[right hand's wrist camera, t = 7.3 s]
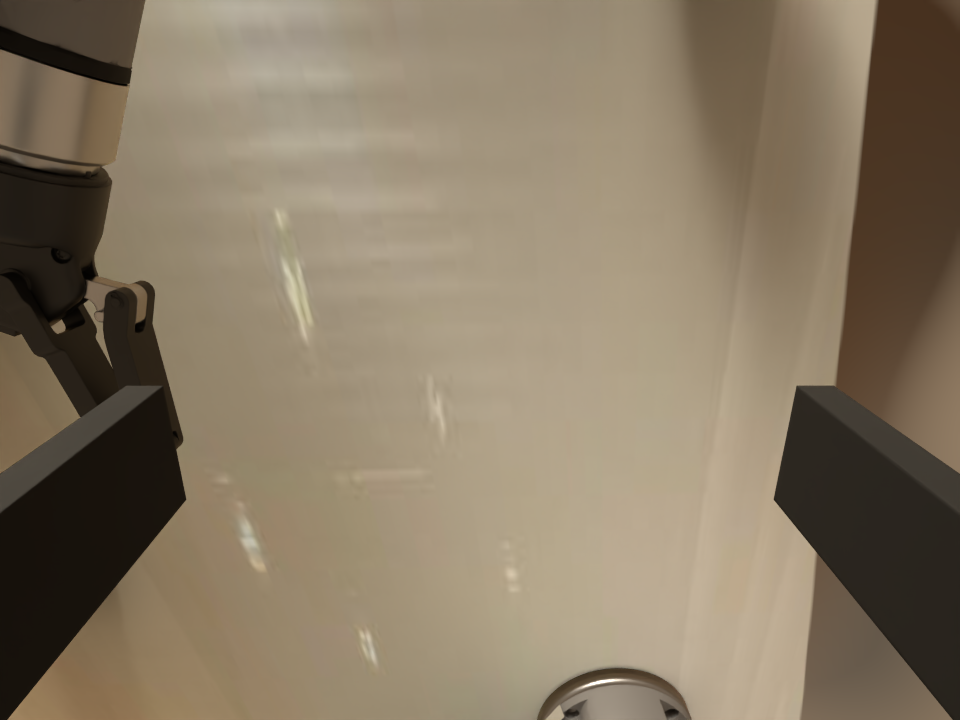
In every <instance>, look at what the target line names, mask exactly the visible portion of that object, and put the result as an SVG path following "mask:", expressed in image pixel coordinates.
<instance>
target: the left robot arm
mask: <svg viewBox="0 0 960 720" xmlns="http://www.w3.org/2000/svg"><path fill="white" fill-rule="evenodd" d="M144 4H145V0H0V332H3V333H6V334H9V335H12V336H14V337H15V336H17V335H20V334H22V335H23V337H24V339H25V340H26V342H27V344H28V345H29V347H30V349H31V350H32V352H33V353H34V354H35V355H37V356H39V357H43V358H44V359H46V361H47V362H48V364H49V365H50V367H51V369H52V370H53V372H54V374H55V375H56V377H57V379H58V380H59V382H60V384H61V385H62V387H63V389H64V390H65V392H66V394H67V395H68V397H69V399H70V400H71V402H72V404H73V405H74V407H75V409H76V410H77V412H78V414H79V415H80V417H82V416H84V415H85V414H87V413H88V412H90V411H91V410H92V409H94V408H95V407H97V406H98V405H100V404H101V403H102V402H104V401H105V400H107V399H108V398H110V397H111V396H112V395H114V394H115V393H117V392H118V391H120V390H121V389H122V388H124V387H125V386H163V387H164V392H165V397H166V402H167V407H168V412H169V417H170V422H171V427H172V432H173V436H174V441H175V446H176V449H177V448H178V447H179V446H180V445H181V444H182V443H183V435H182V431H181V428H180V424H179V420H178V417H177V413H176V409H175V405H174V402H173V398H172V394H171V391H170V387H169V383H168V380H167V376H166V372H165V369H164V365H163V361H162V358H161V354H160V350H159V347H158V343H157V339H156V335H155V332H154V328H153V324H152V321H153V311H154V300H155V290H154V288H153V286H152V285H151V284H150V283H148V282H146V281H138V282H135V283H132V284H125V283H121V282H117V281H113V280H109V279H105V278H102V277H99V276H98V273H97V271H96V267H95V262H94V255H95V251H96V249H97V246H98V244H99V242H100V240H101V237H102V234H103V229H104V224H105V219H106V213H107V208H108V202H109V197H110V191H111V186H112V180H111V178H110V177H109V175H108V173H107V172H106V171H105V169H103V168H102V167H101V166H105V165H108V164H110V163H112V162H114V161H115V160H116V155H117V149H118V144H119V139H120V133H121V128H122V123H123V117H124V112H125V107H126V102H127V96H128V91H129V86H130V85H129V83H130V78H131V72H132V71H131V69H132V62H133V57H134V52H135V47H136V42H137V38H138V33H139V28H140V23H141V18H142V14H143V9H144ZM88 300H90V301H91V302H92V303H93V304H94V305H95V307H96V310H97V311H96V312H95V313H94V317H95V319H96V320H97V321H99V322H103V331H104V339H105V343H106V347H107V351H108V354H109V357H110V361H111V364H112V367H113V369H112V367H111V365H110V363H109V361H108V360H107V358H106V356H105V354H104V353H103V351H102V349H101V347H100V346H99V344H98V342H97V340H96V333H97V328H96V326H95V324H94V322H93V320H92V319H91V317H90V315H89V313H88V312H87V310H86V308H85V306H84V304H83V303H85V302H86V301H88ZM61 319H62V320H63V322H64V324H65V326H66V330H65V331H64V332H62V333H59V334H57V333H55V332H54V331H53V329H52V328H51V326H52V325H54V324H56V323H57V322H58V321H60V320H61Z"/></svg>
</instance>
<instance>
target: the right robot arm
mask: <svg viewBox="0 0 960 720" xmlns="http://www.w3.org/2000/svg"><path fill="white" fill-rule="evenodd" d="M185 500H186V496H185V491H184V486H183V481H182V476H181V471H180V466H179V461H178V456H177V451H176V446H175V441H174V436H173V432H172V427H171V422H170V417H169V412H168V407H167V402H166V397H165V392H164V387H163V386H125V387H124V388H122V389H121V390H120V391H118V392H117V393H115V394H114V395H112V396H111V397H110V398H108V399H107V400H105V401H104V402H102V403H101V404H100V405H98V406H97V407H95V408H94V409H92V410H91V411H90V412H88V413H87V414H85V415H84V416H82V417H81V418H79V419H78V420H77V421H75V422H74V423H72V424H71V425H69V426H68V427H67V428H65V429H64V430H62V431H61V432H59V433H58V434H57V435H55V436H54V437H52V438H51V439H49V440H48V441H47V442H45V443H44V444H42V445H41V446H39V447H38V448H37V449H35V450H34V451H32V452H31V453H29V454H28V455H27V456H25V457H24V458H22V459H21V460H19V461H18V462H17V463H15V464H14V465H12V466H11V467H9V468H8V469H7V470H5V471H4V472H2V473H1V474H0V720H7V719H8V718H9V717H10V716H11V714H12V713H13V712H14V711H15V709H16V708H17V707H18V706H19V704H20V703H21V702H22V701H23V700H24V698H25V697H26V696H27V695H28V693H29V692H30V691H31V690H32V689H33V687H34V686H35V685H36V684H37V682H38V681H39V680H40V679H41V677H42V676H43V675H44V674H45V673H46V671H47V670H48V669H49V668H50V666H51V665H52V664H53V663H54V661H55V660H56V659H57V658H58V657H59V655H60V654H61V653H62V652H63V650H64V649H65V648H66V647H67V646H68V644H69V643H70V642H71V641H72V639H73V638H74V637H75V636H76V634H77V633H78V632H79V631H80V630H81V628H82V627H83V626H84V625H85V623H86V622H87V621H88V620H89V618H90V617H91V616H92V615H93V614H94V612H95V611H96V610H97V609H98V607H99V606H100V605H101V604H102V602H103V601H104V600H105V599H106V598H107V596H108V595H109V594H110V593H111V591H112V590H113V589H114V588H115V587H116V585H117V584H118V583H119V582H120V580H121V579H122V578H123V577H124V575H125V574H126V573H127V572H128V571H129V569H130V568H131V567H132V566H133V564H134V563H135V562H136V561H137V559H138V558H139V557H140V556H141V555H142V553H143V552H144V551H145V550H146V548H147V547H148V546H149V545H150V543H151V542H152V541H153V540H154V539H155V537H156V536H157V535H158V534H159V532H160V531H161V530H162V529H163V528H164V526H165V525H166V524H167V523H168V521H169V520H170V519H171V518H172V516H173V515H174V514H175V513H176V512H177V510H178V509H179V508H180V507H181V505H182V504H183V503H184V502H185ZM774 500H775V502H776V503H777V504H778V505H779V507H780V508H781V509H782V510H783V512H784V513H785V514H786V515H787V516H788V518H789V519H790V520H791V521H792V523H793V524H794V525H795V526H796V528H797V529H798V530H799V531H800V532H801V534H802V535H803V536H804V537H805V539H806V540H807V541H808V542H809V543H810V545H811V546H812V547H813V548H814V550H815V551H816V552H817V553H818V555H819V556H820V557H821V558H822V559H823V561H824V562H825V563H826V564H827V566H828V567H829V568H830V569H831V570H832V572H833V573H834V574H835V575H836V577H837V578H838V579H839V580H840V581H841V583H842V584H843V585H844V586H845V588H846V589H847V590H848V591H849V593H850V594H851V595H852V596H853V598H854V599H855V600H856V601H857V602H858V604H859V605H860V606H861V607H862V609H863V610H864V611H865V612H866V614H867V615H868V616H869V617H870V618H871V620H872V621H873V622H874V623H875V625H876V626H877V627H878V628H879V630H880V631H881V632H882V633H883V634H884V636H885V637H886V638H887V639H888V641H889V642H890V643H891V644H892V645H893V647H894V648H895V649H896V650H897V652H898V653H899V654H900V655H901V657H902V658H903V659H904V660H905V661H906V663H907V664H908V665H909V666H910V668H911V669H912V670H913V671H914V673H915V674H916V675H917V676H918V677H919V679H920V680H921V681H922V682H923V684H924V685H925V686H926V687H927V689H928V690H929V691H930V692H931V693H932V695H933V696H934V697H935V698H936V700H937V701H938V702H939V703H940V704H941V706H942V707H943V708H944V709H945V711H946V712H947V713H948V714H949V716H950V717H951V718H952V719H953V720H960V474H959V473H958V472H956V471H955V470H953V469H952V468H951V467H949V466H948V465H946V464H945V463H943V462H942V461H941V460H939V459H938V458H936V457H935V456H933V455H932V454H931V453H929V452H928V451H926V450H925V449H923V448H922V447H921V446H919V445H918V444H916V443H915V442H913V441H912V440H910V439H909V438H908V437H906V436H905V435H903V434H902V433H901V432H899V431H898V430H896V429H895V428H893V427H892V426H891V425H889V424H888V423H886V422H885V421H883V420H882V419H881V418H879V417H878V416H876V415H875V414H873V413H872V412H870V411H869V410H868V409H866V408H865V407H863V406H862V405H860V404H859V403H858V402H856V401H855V400H853V399H852V398H850V397H849V396H848V395H846V394H845V393H843V392H842V391H840V390H839V389H838V388H836V387H835V386H797V387H796V392H795V397H794V402H793V407H792V412H791V417H790V422H789V427H788V432H787V436H786V441H785V446H784V451H783V456H782V461H781V466H780V471H779V476H778V481H777V486H776V491H775V496H774ZM537 720H692V719H691V717H690V714H689V711H688V708H687V706H686V703H685V701H684V699H683V698H682V696H681V694H680V693H679V692H678V691H677V690H676V689H675V688H674V687H673V686H672V685H671V684H669V683H668V682H666V681H665V680H663V679H662V678H659V677H657V676H655V675H653V674H650V673H647V672H643V671H639V670H634V669H623V668H614V669H603V670H598V671H593V672H589V673H586V674H583V675H580V676H578V677H576V678H574V679H572V680H570V681H568V682H566V683H565V684H563V685H562V686H560V687H559V688H558V689H556V690H555V691H554V692H553V693H552V694H551V695H550V696H549V697H548V699H547V700H546V701H545V703H544V704H543V706H542V708H541V710H540V712H539V715H538V719H537Z"/></svg>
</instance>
